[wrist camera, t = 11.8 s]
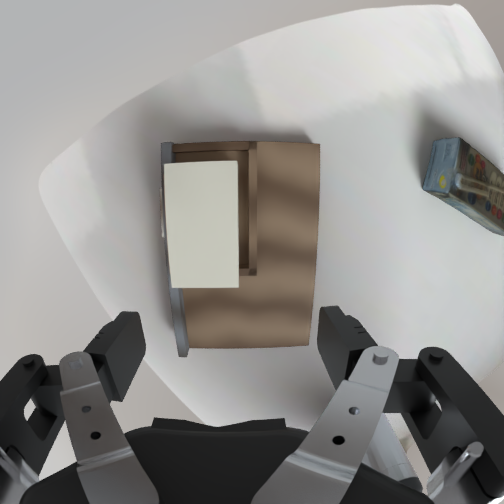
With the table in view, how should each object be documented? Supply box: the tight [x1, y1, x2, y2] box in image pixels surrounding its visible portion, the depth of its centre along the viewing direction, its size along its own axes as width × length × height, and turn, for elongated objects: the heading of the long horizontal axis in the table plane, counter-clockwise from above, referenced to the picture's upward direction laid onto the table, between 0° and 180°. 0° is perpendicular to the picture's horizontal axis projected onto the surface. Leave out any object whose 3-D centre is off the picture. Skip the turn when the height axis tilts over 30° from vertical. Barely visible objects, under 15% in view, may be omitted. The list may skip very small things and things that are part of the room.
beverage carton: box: [423, 137, 504, 236], centre depth 28 cm, size 8×19×7 cm, turn 73°
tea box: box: [164, 161, 239, 288], centre depth 24 cm, size 5×9×10 cm, turn 0°
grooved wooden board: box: [160, 141, 320, 357], centre depth 30 cm, size 24×16×4 cm
